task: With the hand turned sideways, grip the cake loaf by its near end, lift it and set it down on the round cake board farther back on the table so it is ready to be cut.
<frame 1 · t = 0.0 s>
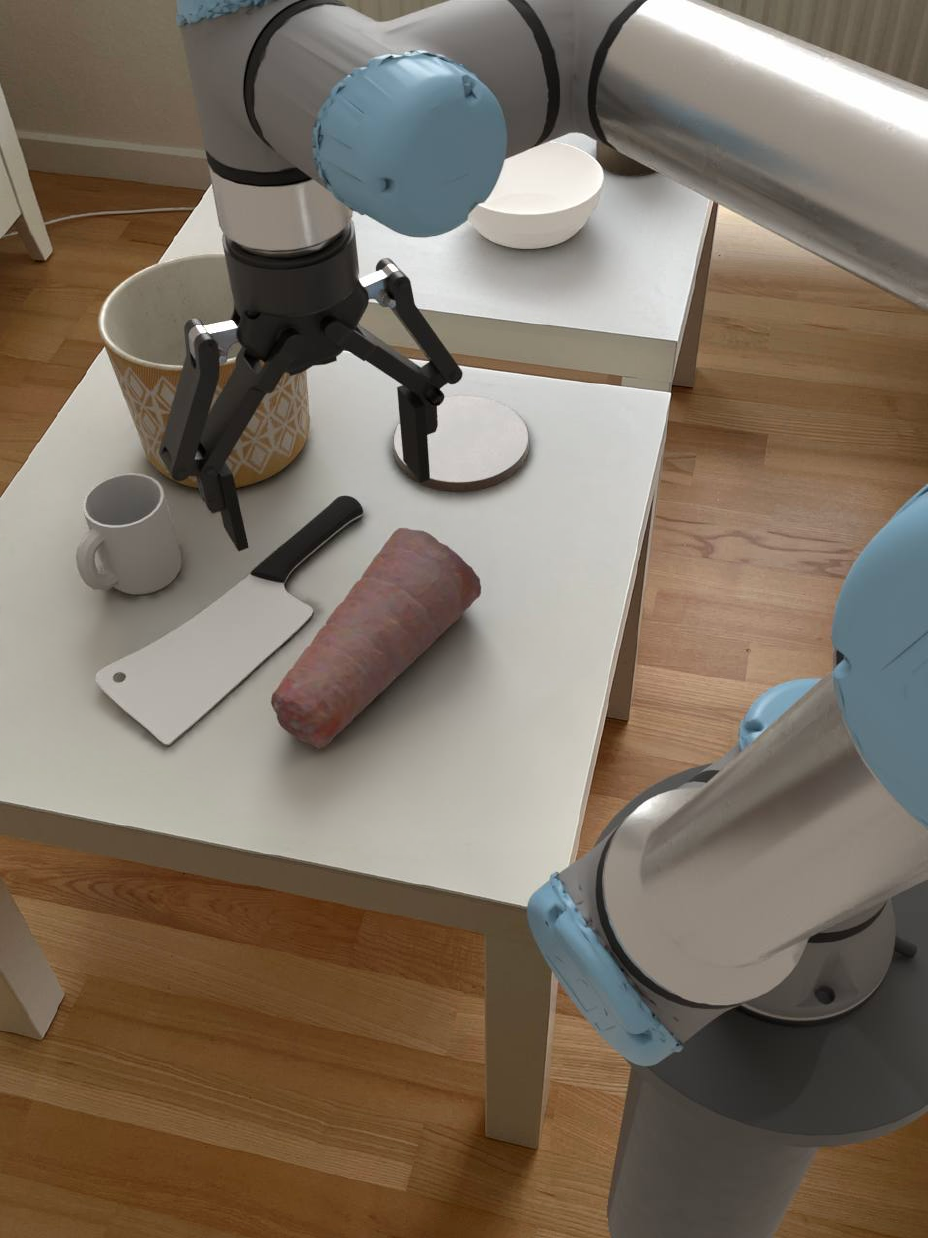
hand: (328, 503, 86), 26 cm above the table, tool pointing down, fingers open, 13 cm apart
kitchen cleaver: (258, 613, 114), on the table
pillar candle: (631, 159, 168), on the table
cup: (134, 579, 118), on the table
planter: (229, 442, 131), on the table
food: (367, 665, 110), on the table
bowl: (528, 230, 157), on the table
cake board: (461, 446, 129), on the table
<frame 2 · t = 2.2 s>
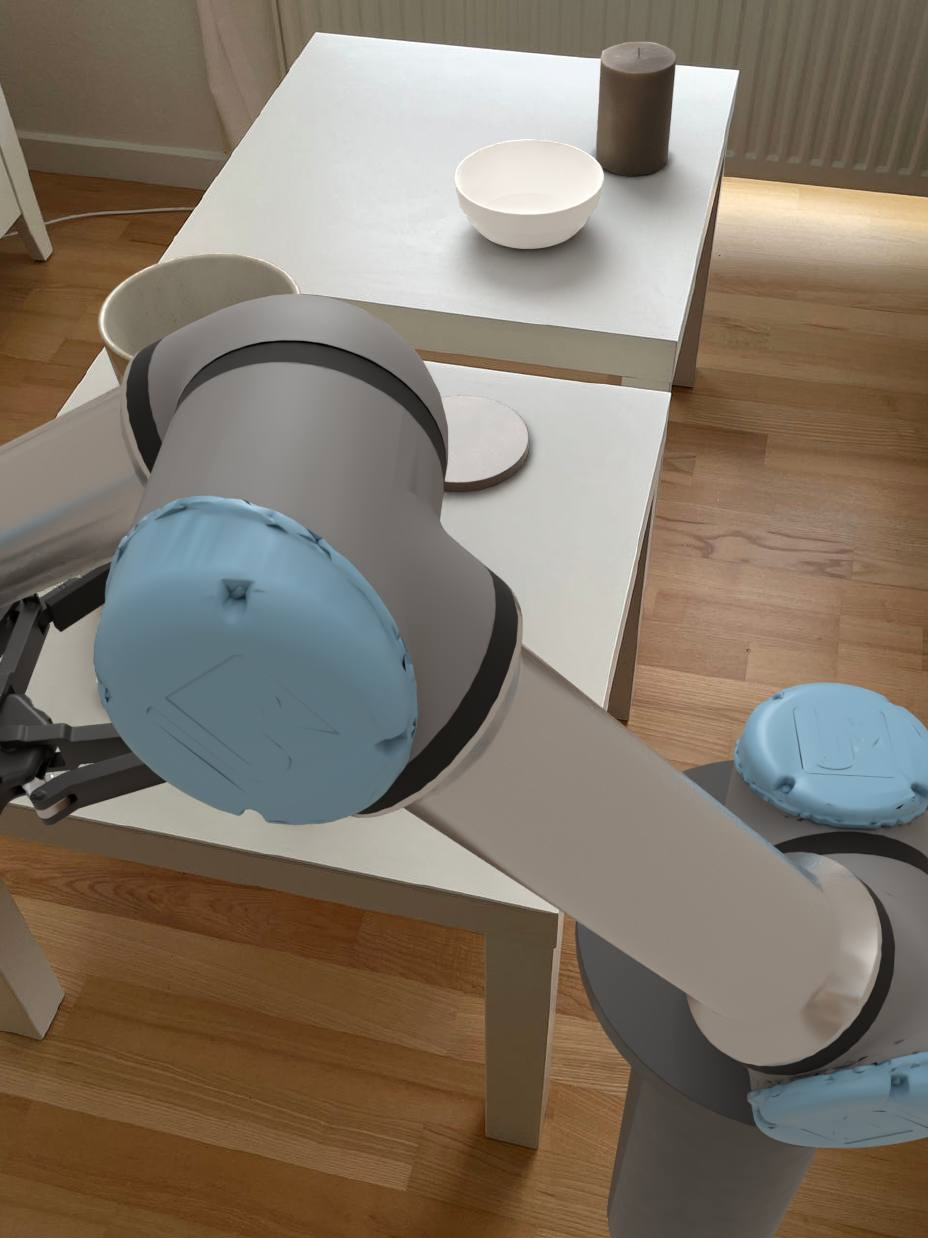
hand: (188, 613, 87), 20 cm above the table, tool horizontal, fingers open, 13 cm apart
nothing on the table moved.
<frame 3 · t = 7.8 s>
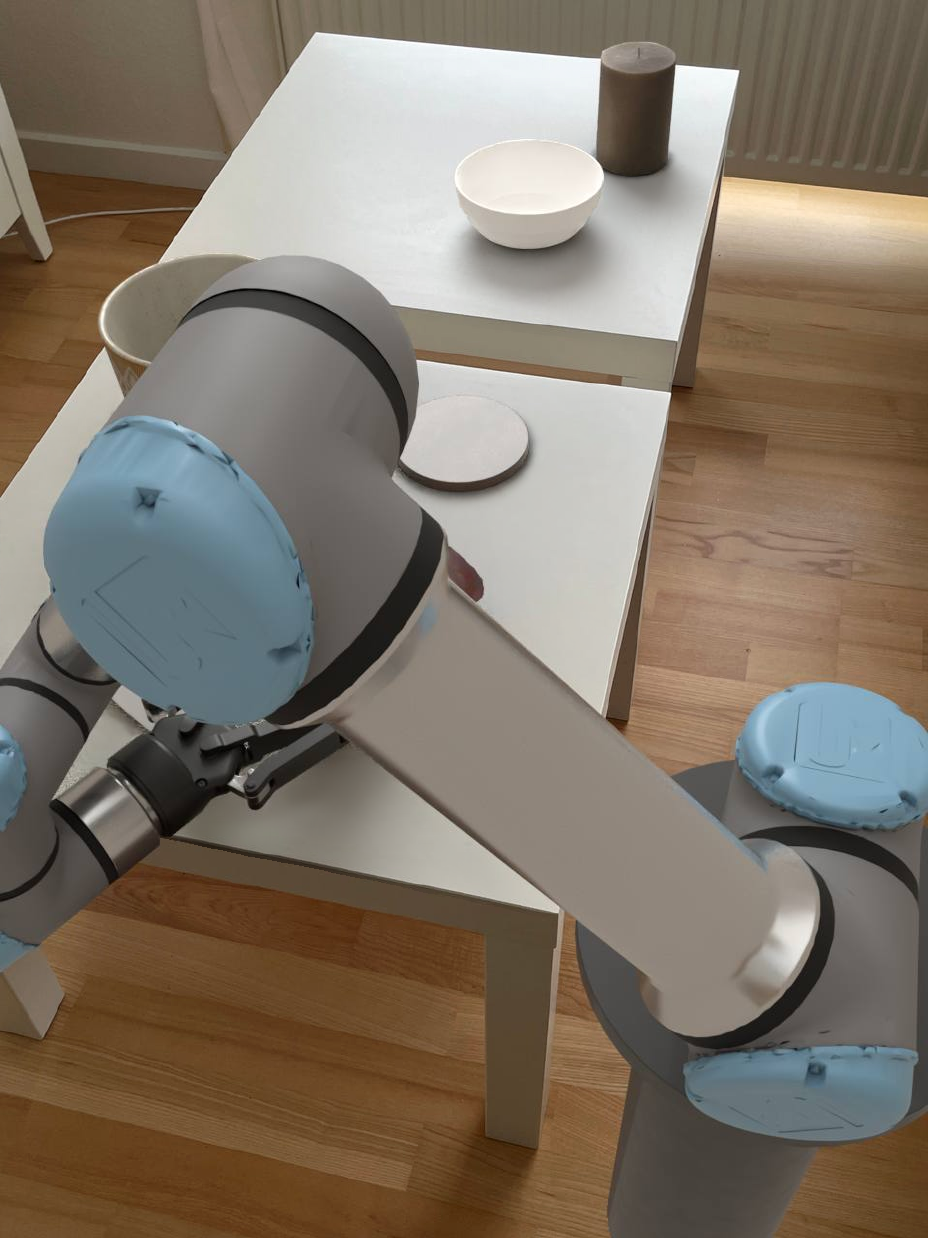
hand: (355, 630, 104), 7 cm above the table, tool horizontal, fingers closed on food, 7 cm apart
food: (369, 665, 110), on the table, touching gripper
everything else where it was.
when the fingers open (8 cm above the table, at t = 17.2 s): food stays where it is, resting on cake board.
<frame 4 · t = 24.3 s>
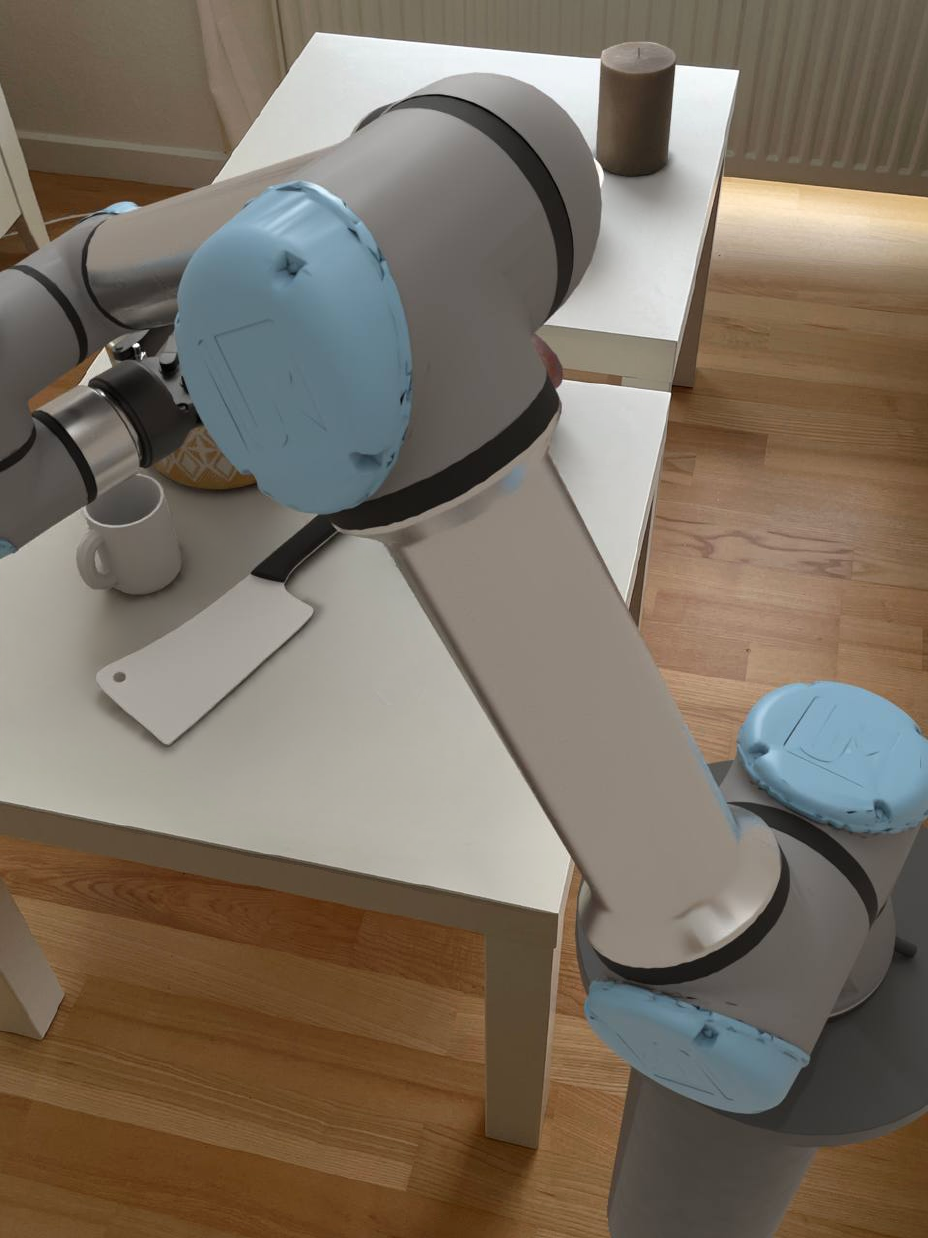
hand: (326, 301, 102), 26 cm above the table, tool horizontal, fingers open, 13 cm apart
food: (463, 438, 128), point 1 cm above the table, touching cake board
everything else where it was.
at the end: food inside the target area on the cake board (0.3 cm from its centre), point 1.0 cm above the cake board's base; food tilted 2°; the gripper is holding nothing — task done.
